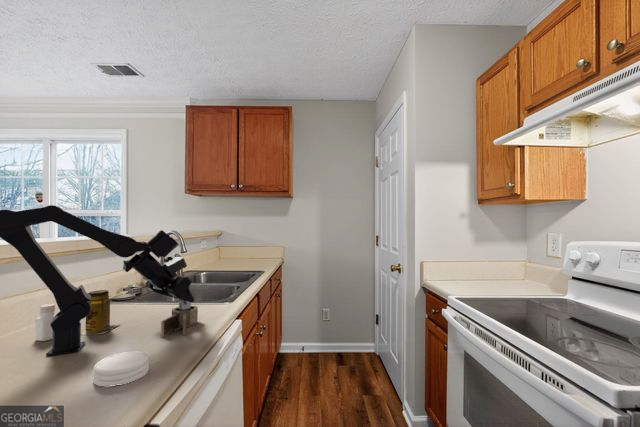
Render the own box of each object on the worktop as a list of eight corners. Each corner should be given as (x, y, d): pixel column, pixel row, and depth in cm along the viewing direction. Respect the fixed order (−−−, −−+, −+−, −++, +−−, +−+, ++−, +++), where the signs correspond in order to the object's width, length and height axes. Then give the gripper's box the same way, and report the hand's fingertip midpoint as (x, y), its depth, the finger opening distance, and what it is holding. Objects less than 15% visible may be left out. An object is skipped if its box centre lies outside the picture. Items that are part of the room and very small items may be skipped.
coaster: (80, 389, 61) (81, 371, 61) (114, 366, 71) (114, 350, 71) (131, 388, 61) (131, 370, 61) (157, 365, 71) (157, 350, 71)
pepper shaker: (42, 342, 85) (43, 307, 86) (33, 340, 87) (34, 306, 87) (59, 337, 89) (60, 304, 89) (50, 335, 90) (51, 303, 91)
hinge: (198, 333, 91) (198, 316, 91) (160, 339, 87) (160, 321, 87) (197, 319, 105) (197, 304, 105) (164, 323, 101) (164, 307, 101)
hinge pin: (190, 325, 99) (190, 293, 99) (178, 326, 98) (178, 294, 98) (190, 321, 102) (190, 291, 103) (178, 323, 101) (178, 292, 101)
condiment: (77, 335, 91) (78, 294, 91) (97, 325, 99) (98, 288, 100) (103, 334, 91) (103, 293, 92) (120, 325, 100) (121, 287, 100)
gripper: (186, 250, 91) (217, 282, 100) (155, 247, 103) (186, 276, 111) (158, 280, 85) (195, 312, 93) (129, 274, 96) (164, 303, 104)
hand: (185, 299), depth 101 cm, fingers open, 9 cm apart
